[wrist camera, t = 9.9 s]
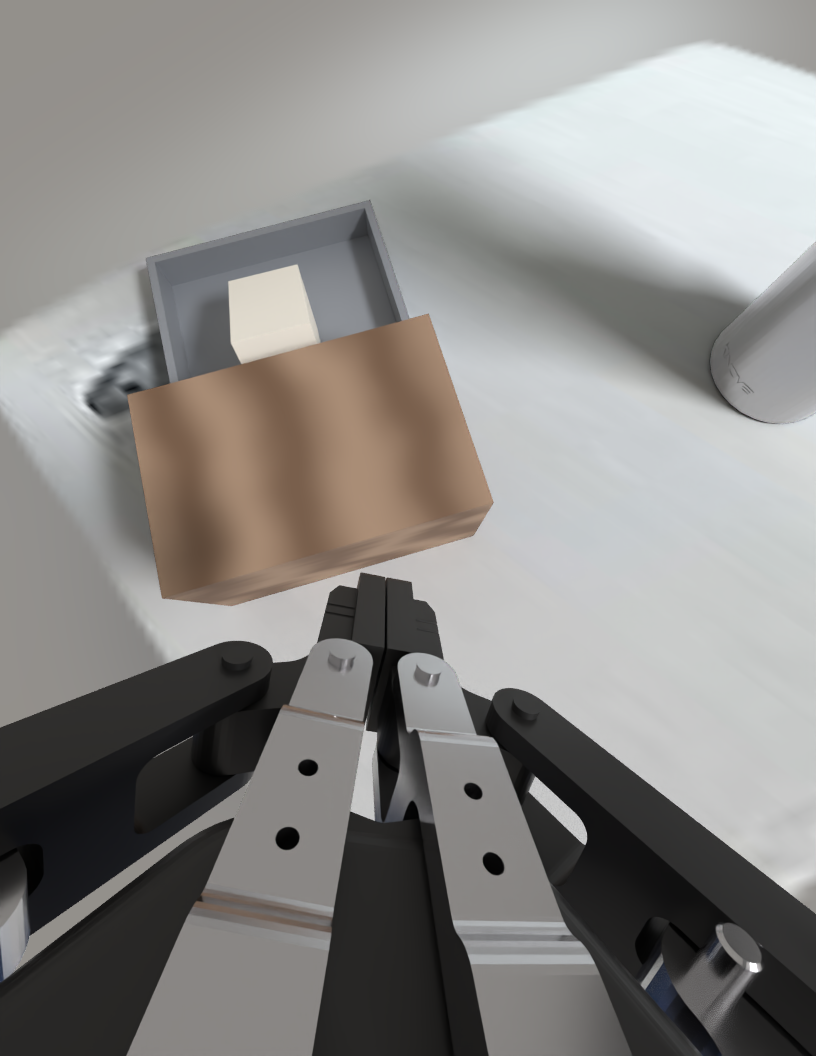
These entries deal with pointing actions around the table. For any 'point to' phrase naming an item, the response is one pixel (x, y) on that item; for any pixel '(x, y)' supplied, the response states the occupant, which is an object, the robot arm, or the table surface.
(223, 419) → the walnut platform
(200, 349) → the box
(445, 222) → the table surface
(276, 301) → the cream block
